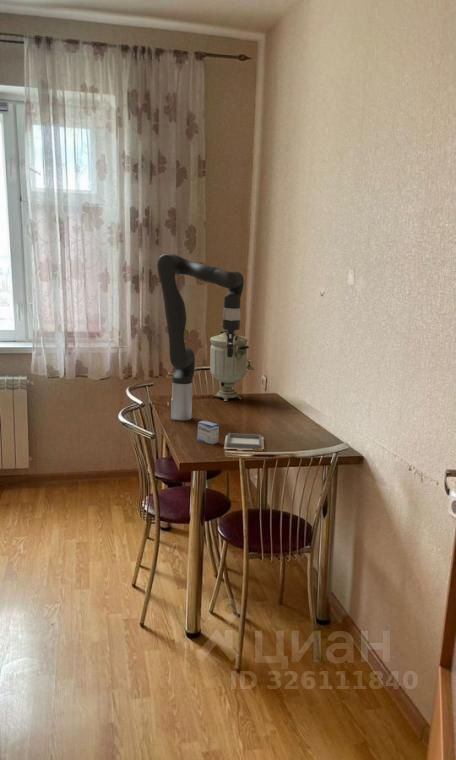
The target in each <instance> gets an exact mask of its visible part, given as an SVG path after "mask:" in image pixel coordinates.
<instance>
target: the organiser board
mask: <svg viewBox="0 0 456 760" xmlns="http://www.w3.org/2000/svg"><path fill="white" fill-rule="evenodd" d="M264 441H265V439H264V436H262V434H254V433H233V432H232V433H231V432H228V433H227V435H225V440H224V444H223V445H224V447H223V450H226V449H237V450H236V451H242V450H253V449H252V448H258V449H264V450H265V445H264V444H265V442H264Z"/></svg>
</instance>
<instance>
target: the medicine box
mask: <svg viewBox="0 0 456 760" xmlns="http://www.w3.org/2000/svg"><path fill="white" fill-rule="evenodd" d="M219 428H220V424H219V423H215V422H211V421H208V420H201V421H199V422H197V438H196V439H197V440H196V441H198V442H202V443H205V444H209V445H215V444H217V443H219V435H220V434H219V433H220V431H219Z"/></svg>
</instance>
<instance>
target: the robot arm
mask: <svg viewBox="0 0 456 760" xmlns="http://www.w3.org/2000/svg"><path fill="white" fill-rule="evenodd" d="M156 265H157V266H156V267H157V274H158V278H159V281H160V285H161V291H162V297H163V303H164V304H163V305H164V306H163V307H164V313H165V314H164V315H165V320H166V325H167V326H166V327H167V334H168V345H169V361H170V363H171V365H172V366H173V368H175V371H174V374H173V375H172V378H171V381H172V382H171V398H170V400H171V401H170V404H171V405H170V420H174V421H189V420H191V419H192V412H193V411H192V409H193V407H192V405H193V378H194V375H195V364H196V358H195V353H194V351H193V349H191V348H190V347H188V346H186V344H185V330H186V326H187V311H186V310H187V309H186V305H185V301H184V299H183V296H182V295H181V293H180V291H179V289H178V287H177V286H178V285H177V283H176V282H177V281H176V275H184V276H190V277H193V278H196V279H197V280H199V281H203V282H206V283H209V284H212V285H213V284H215V285H217V286H220V287H222V288H225V289H228V290H227V293H226V294H225V295H224V298H223V311H222V324H223V327H222V330H223V329H224V330H228V333H227V334H226V338H227V341H226V343H227V348H228V349H227V357H232V354H233V345H234V342H235V336H236V334H237V333H236V331H238V330H240V329H241V297H242V293H243V289H244V283H245V281H244V276H243V274H242V273H241V272H240V271H229V270H227V271H226V270H222V269H221V268H219V267H216V266H212V265H209V264H203V263H197V262H194V261H191V260H189V259H186V258H184V257H181V256H179V255H178V254H174V253H170V254H169V253H168V254H166V253H164V254H162V255H160V256H159V257H158V259H157V262H156ZM234 330H235V331H234Z"/></svg>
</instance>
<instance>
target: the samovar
mask: <svg viewBox="0 0 456 760" xmlns="http://www.w3.org/2000/svg"><path fill="white" fill-rule="evenodd" d="M220 326H221V327H222V330H221V331H220V334H218V335H214V336H211V337H210V338H209V340H210V343H211V345H210V346H209V347H210V351H209V352H210V354H209V355H210V356H209V357H210V359H209V361H210V362H209V363H210V364H209V369H210V370H209V373H210V375H211V376H212V378H214V379H215V380H216V381H218V382H220V386H221V387H222V389H220V390H219V391H217V393H216V394H215V395H213V396H217V397H219V398H222V399H223V402H224V401H228V400H229V399H230V398H231V399H233V398H237V399H239V400H242V397H240V396H239V395H238V392H236V390H235V389H233V388H234V387H235V383H237V382H239V381H241V380H243V378H245V377H246V375H247V371H248V370H251V371H252V370H255V369H254V367H253V366H252V365H251V362H254V361H253V359H250V358H249V359H248V349H249V348H250V346H249V345H247V344H248V340H249V339H248V337H246V336H243V335H239V334H238V333H236V336H235V342H234V345H233V354H232V357H227V349H228V348H227V343H226V341H227V338H226V334H227V333H228V330H224V329H223V323H221V324H220ZM234 331H235V332H236V330H234ZM247 364H248V365H247ZM247 369H248V370H247ZM228 402H229V401H228Z"/></svg>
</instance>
